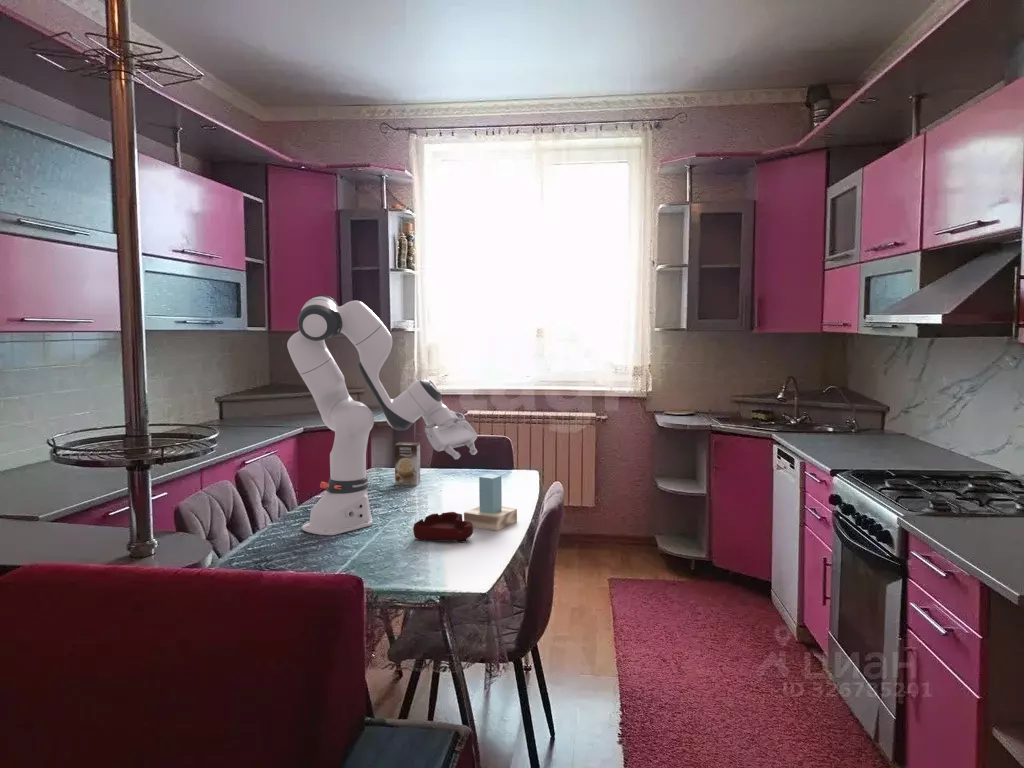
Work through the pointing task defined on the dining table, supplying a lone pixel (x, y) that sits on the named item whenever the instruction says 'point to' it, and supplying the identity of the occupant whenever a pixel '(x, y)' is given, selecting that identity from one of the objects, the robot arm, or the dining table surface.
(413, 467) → the coffee box
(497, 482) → the teal block
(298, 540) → the dining table surface
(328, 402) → the robot arm
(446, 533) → the ashtray
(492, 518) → the plinth
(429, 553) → the dining table surface
